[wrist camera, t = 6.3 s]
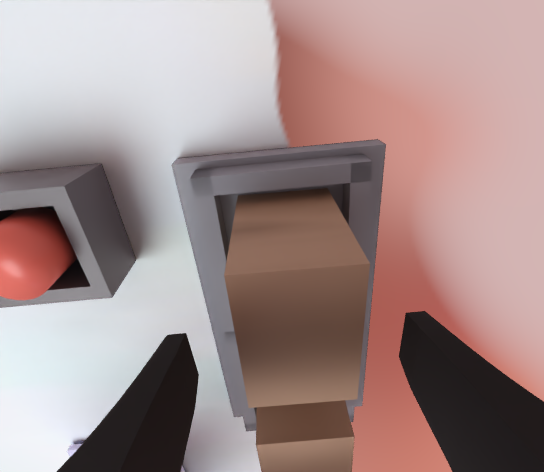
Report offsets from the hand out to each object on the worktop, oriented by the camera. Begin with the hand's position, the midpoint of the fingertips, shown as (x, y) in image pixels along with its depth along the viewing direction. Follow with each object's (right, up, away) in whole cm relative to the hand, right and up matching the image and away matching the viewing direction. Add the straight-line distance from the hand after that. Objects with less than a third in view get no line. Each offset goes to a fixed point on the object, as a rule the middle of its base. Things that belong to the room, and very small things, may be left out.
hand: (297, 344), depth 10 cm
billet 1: (0, +3, +5) cm, 6 cm away
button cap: (-11, +4, +3) cm, 12 cm away
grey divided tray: (0, 0, +8) cm, 8 cm away
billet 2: (+1, -4, +9) cm, 10 cm away
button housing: (-11, +4, +5) cm, 13 cm away
